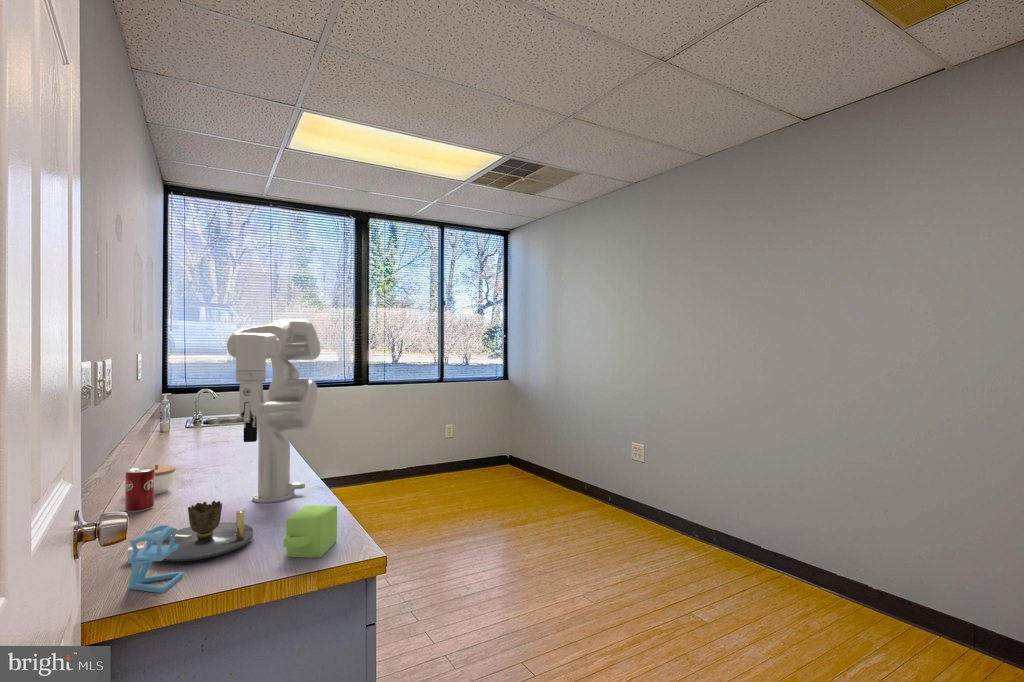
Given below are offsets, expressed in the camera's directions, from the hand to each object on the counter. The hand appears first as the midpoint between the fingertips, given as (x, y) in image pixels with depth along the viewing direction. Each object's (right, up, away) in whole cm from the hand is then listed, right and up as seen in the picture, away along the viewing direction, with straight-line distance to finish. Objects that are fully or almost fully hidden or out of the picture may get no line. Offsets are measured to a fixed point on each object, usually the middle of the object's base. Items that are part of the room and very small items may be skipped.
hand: (250, 441), depth 144 cm
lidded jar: (-47, -23, +29) cm, 60 cm away
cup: (-2, -21, -17) cm, 27 cm away
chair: (-1, -23, -37) cm, 44 cm away
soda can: (-40, -23, +11) cm, 47 cm away
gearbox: (+24, -23, -17) cm, 38 cm away
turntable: (-3, -22, -18) cm, 28 cm away
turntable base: (-6, -23, -20) cm, 31 cm away
